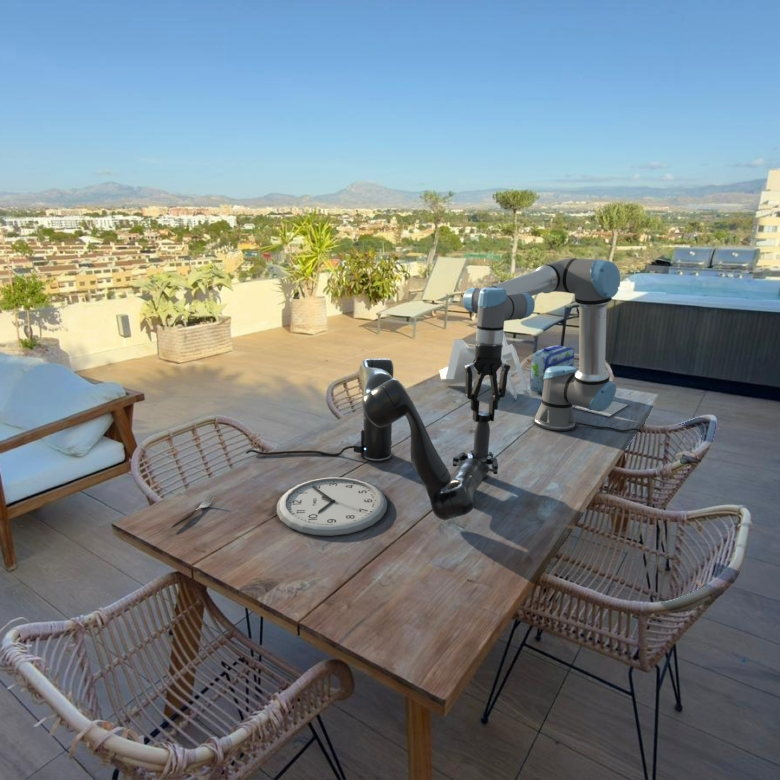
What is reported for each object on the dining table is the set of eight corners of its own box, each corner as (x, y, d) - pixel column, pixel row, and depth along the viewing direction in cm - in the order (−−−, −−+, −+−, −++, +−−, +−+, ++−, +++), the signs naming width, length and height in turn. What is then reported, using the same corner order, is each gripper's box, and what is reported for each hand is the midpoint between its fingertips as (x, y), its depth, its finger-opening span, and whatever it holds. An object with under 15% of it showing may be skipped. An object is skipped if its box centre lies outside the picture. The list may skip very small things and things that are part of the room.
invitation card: (608, 416, 214) (573, 407, 224) (608, 416, 214) (573, 408, 224) (628, 404, 229) (594, 396, 238) (628, 405, 229) (594, 397, 238)
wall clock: (392, 527, 129) (268, 531, 127) (391, 533, 130) (269, 537, 127) (383, 473, 158) (282, 475, 155) (383, 478, 158) (282, 480, 156)
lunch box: (546, 398, 236) (551, 353, 229) (525, 393, 243) (529, 349, 237) (573, 387, 253) (579, 344, 247) (553, 382, 260) (558, 341, 254)
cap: (480, 416, 159) (480, 409, 158) (493, 419, 156) (493, 413, 156) (473, 420, 156) (473, 413, 155) (486, 423, 153) (486, 417, 152)
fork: (167, 528, 130) (166, 521, 130) (209, 498, 145) (208, 492, 144) (175, 530, 130) (174, 523, 129) (216, 500, 144) (216, 494, 143)
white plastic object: (461, 429, 252) (437, 405, 227) (444, 352, 274) (420, 323, 250) (535, 404, 240) (518, 377, 215) (510, 326, 262) (492, 293, 237)
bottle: (483, 472, 164) (488, 411, 158) (488, 478, 160) (493, 417, 154) (469, 473, 163) (474, 412, 157) (474, 479, 159) (478, 417, 153)
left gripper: (495, 468, 143) (506, 446, 158) (444, 459, 148) (460, 438, 163) (492, 493, 145) (504, 468, 160) (443, 483, 151) (459, 460, 166)
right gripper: (512, 339, 154) (505, 414, 161) (455, 341, 151) (451, 417, 158) (522, 345, 147) (515, 423, 154) (464, 346, 144) (459, 426, 151)
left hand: (482, 453), depth 162 cm, fingers closed on bottle, 4 cm apart
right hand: (483, 419), depth 156 cm, fingers closed on cap, 4 cm apart
